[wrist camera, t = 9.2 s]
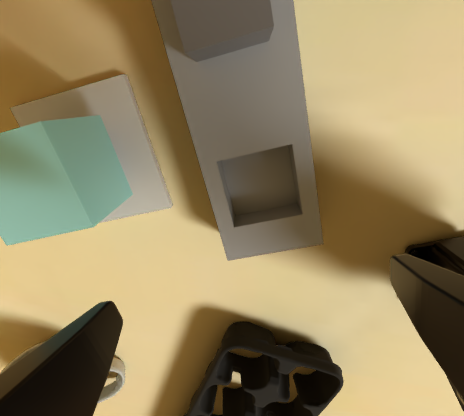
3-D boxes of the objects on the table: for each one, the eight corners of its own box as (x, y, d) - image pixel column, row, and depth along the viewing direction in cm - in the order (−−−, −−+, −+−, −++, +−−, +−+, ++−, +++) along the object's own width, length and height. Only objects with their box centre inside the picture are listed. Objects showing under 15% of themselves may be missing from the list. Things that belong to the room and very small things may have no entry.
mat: (172, 205, 21) (170, 207, 21) (78, 225, 23) (73, 228, 22) (126, 74, 18) (122, 74, 17) (16, 107, 19) (9, 107, 18)
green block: (142, 186, 20) (93, 227, 14) (80, 200, 21) (6, 245, 15) (113, 113, 18) (40, 121, 12) (45, 132, 19) (-57, 149, 13)
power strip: (311, 222, 21) (337, 270, 15) (230, 237, 22) (224, 287, 16) (267, -100, 14) (282, -248, 8) (149, -56, 15) (84, -159, 9)
